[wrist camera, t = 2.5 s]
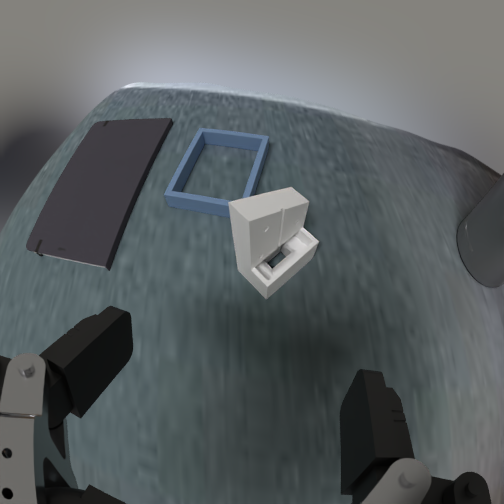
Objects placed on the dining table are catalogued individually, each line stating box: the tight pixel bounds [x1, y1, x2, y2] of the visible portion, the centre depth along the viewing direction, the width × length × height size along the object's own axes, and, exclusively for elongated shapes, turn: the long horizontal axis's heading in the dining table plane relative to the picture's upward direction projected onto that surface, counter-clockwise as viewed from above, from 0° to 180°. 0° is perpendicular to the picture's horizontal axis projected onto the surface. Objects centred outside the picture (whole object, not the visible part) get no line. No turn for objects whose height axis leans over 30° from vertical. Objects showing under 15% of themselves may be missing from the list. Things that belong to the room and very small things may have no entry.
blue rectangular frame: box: [164, 128, 269, 218], centre depth 30 cm, size 8×10×2 cm
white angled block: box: [228, 187, 319, 299], centre depth 23 cm, size 4×10×9 cm, turn 132°
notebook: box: [26, 118, 173, 271], centre depth 31 cm, size 13×2×21 cm
